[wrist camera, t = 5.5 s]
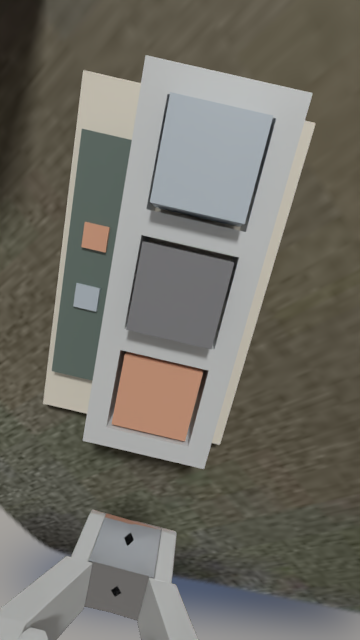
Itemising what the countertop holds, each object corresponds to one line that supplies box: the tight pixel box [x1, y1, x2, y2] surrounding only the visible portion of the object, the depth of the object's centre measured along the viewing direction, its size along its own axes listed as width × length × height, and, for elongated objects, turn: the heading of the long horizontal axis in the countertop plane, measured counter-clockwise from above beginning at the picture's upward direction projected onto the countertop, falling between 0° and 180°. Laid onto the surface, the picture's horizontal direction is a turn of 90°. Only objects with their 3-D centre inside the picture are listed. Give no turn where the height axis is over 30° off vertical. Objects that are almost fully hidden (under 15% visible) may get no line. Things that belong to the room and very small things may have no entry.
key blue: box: [150, 92, 273, 227], centre depth 16 cm, size 5×5×2 cm
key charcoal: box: [126, 241, 234, 349], centre depth 18 cm, size 5×5×2 cm
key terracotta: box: [112, 352, 203, 441], centre depth 20 cm, size 5×5×2 cm
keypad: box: [43, 55, 316, 469], centre depth 19 cm, size 14×22×4 cm, turn 167°
